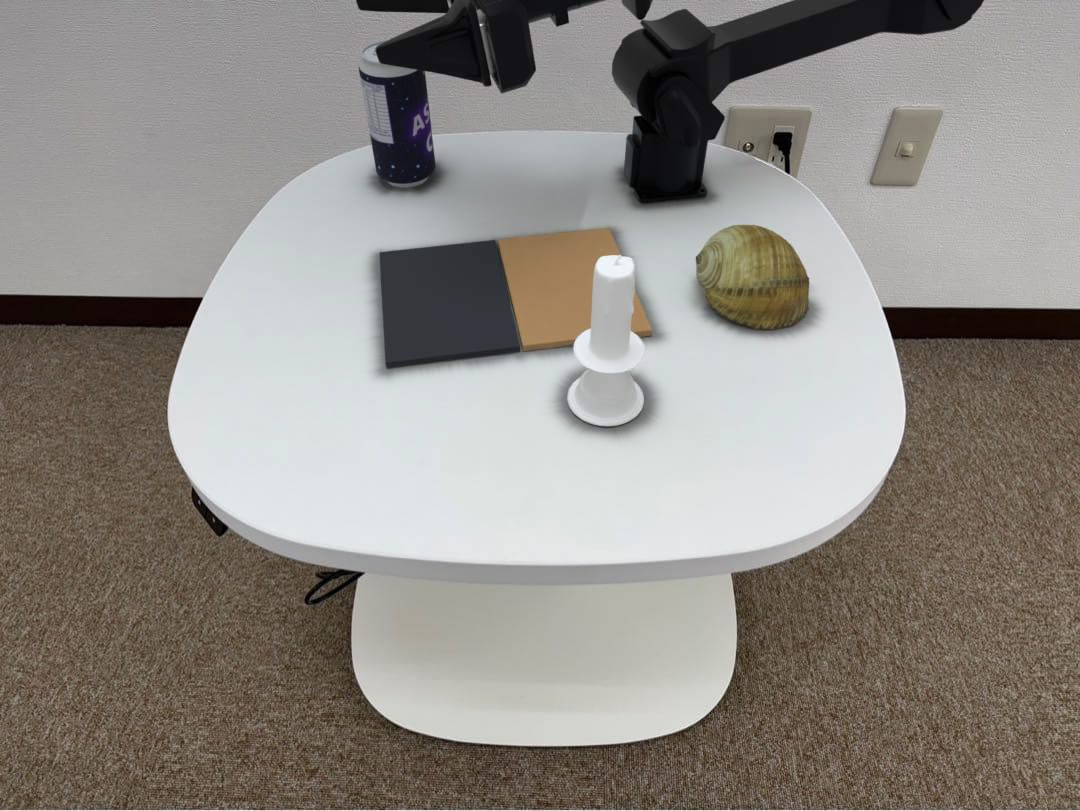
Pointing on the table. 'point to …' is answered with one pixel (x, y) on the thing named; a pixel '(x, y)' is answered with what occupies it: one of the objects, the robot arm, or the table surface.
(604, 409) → the candle
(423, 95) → the beverage can
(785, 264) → the seashell
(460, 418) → the table surface
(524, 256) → the sorting mat
